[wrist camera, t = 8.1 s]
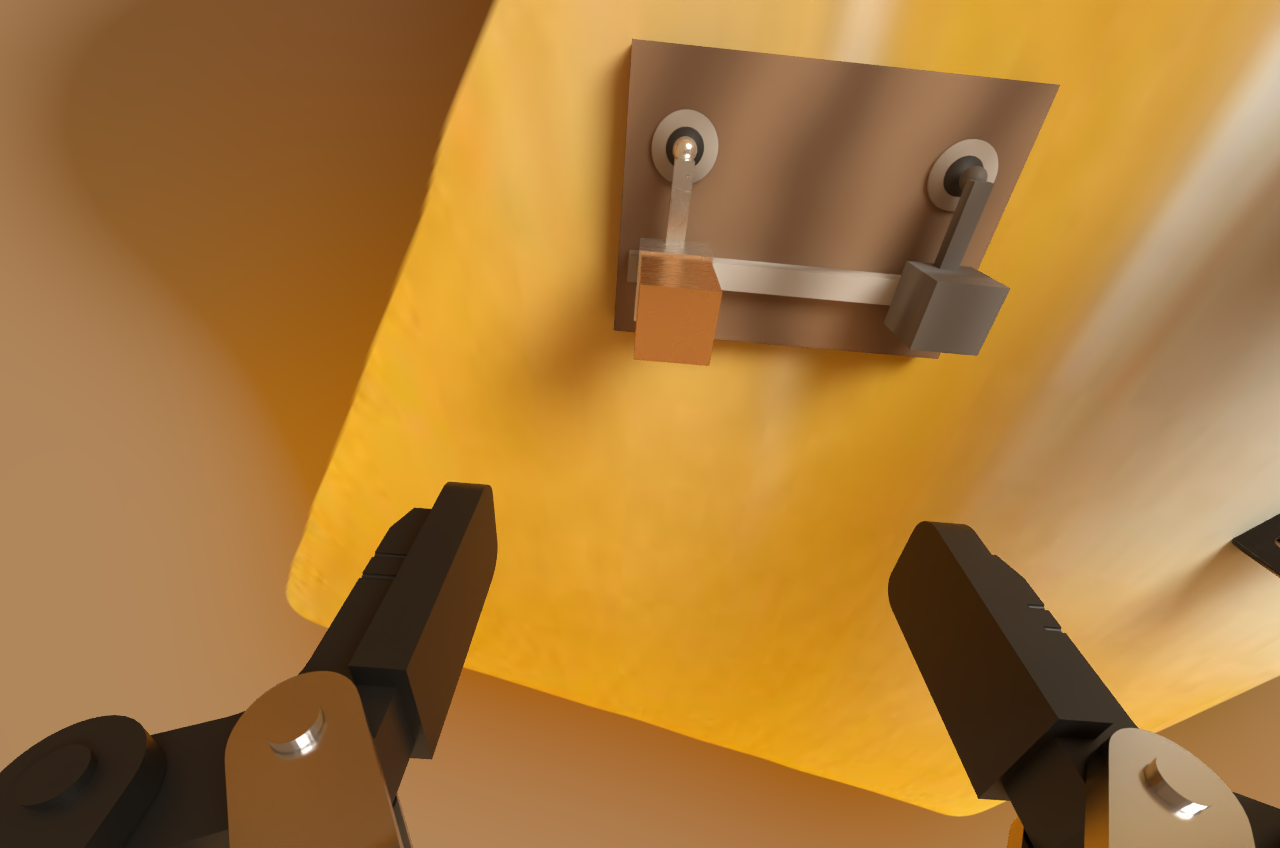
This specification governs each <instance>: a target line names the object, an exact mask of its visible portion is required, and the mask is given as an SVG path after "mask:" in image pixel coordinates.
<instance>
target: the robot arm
mask: <svg viewBox="0 0 1280 848" xmlns="http://www.w3.org/2000/svg"><path fill="white" fill-rule="evenodd" d="M496 559H497V534H496V523H495V513H494V502H493V493H492V488H491V486H490V485H484V484H471V483H459V482H448V483H446V484H445V486H444V487H443V489H442V491H441V492H440V494H439V496H438V498H437V500H436V502H435V504H434V506H433V507H432V509H423V508H413V509H412V510H411V511H410V512H409V513H407V514H406V515H405V516H404V517H402V518H401V519H400V520H399V521H398V522H396V523H395V524H394V525H393V526H391V527H390V528H389V530H388V532H387V533H386V535H385V537H384V538H383V540H382V542H381V543H380V545H379V547H378V548H377V550H376V551H375V556H374V557H372V558H371V560H370V561H369V563H368V565H367V566H366V568H365V570H364V571H363V576H362V578H359V579H358V581H357V583H356V584H355V586H354V588H353V589H352V591H351V593H350V594H349V596H348V598H347V599H346V601H345V602H344V604H343V606H342V607H341V609H340V611H339V612H338V614H337V616H336V617H335V619H334V621H333V622H332V624H331V626H330V627H329V629H328V631H327V632H326V634H325V635H324V637H323V639H322V640H321V642H320V644H319V645H318V647H317V649H316V650H315V652H314V654H313V655H312V657H311V658H310V660H309V661H308V663H307V664H306V666H305V667H304V669H303V670H302V671H301V672H300V673H299V674H298V675H297V676H294V677H292V678H289V679H287V680H285V681H283V682H281V683H279V684H277V685H276V686H275V687H273V688H271V689H270V690H268V691H267V692H265V693H264V694H263V695H262V696H260V697H259V698H258V699H257V700H256V701H255V702H254V703H253V704H252V705H251V706H250V707H249V708H248V709H247V710H246V711H244V712H242V713H239V714H236V715H232V716H229V717H225V718H221V719H217V720H213V721H209V722H205V723H200V724H196V725H192V726H188V727H183V728H179V729H175V730H171V731H167V732H163V733H158V734H154V735H149V733H148V732H147V731H146V730H145V729H144V728H143V726H142V725H141V724H140V723H138V722H137V721H136V720H134V719H132V718H129V717H126V716H117V715H111V716H101V717H96V718H92V719H88V720H85V721H82V722H79V723H76V724H73V725H71V726H69V727H66V728H64V729H62V730H60V731H58V732H56V733H54V734H52V735H50V736H48V737H47V738H45V739H43V740H42V741H40V742H39V743H37V744H35V745H34V746H32V747H31V748H29V749H28V750H27V751H25V752H24V753H23V754H21V755H20V756H19V757H17V758H16V759H15V760H14V761H13V762H12V763H10V764H9V765H8V766H7V767H6V768H5V769H4V770H3V771H2V772H1V773H0V848H413V845H412V842H411V838H410V835H409V832H408V828H407V824H406V821H405V817H404V814H403V810H402V807H401V804H400V800H399V797H398V793H397V791H398V788H399V786H400V783H401V780H402V777H403V775H404V772H405V769H406V767H407V764H408V761H409V758H419V759H420V758H421V759H432V757H433V755H434V752H435V749H436V746H437V742H438V739H439V737H440V734H441V731H442V727H443V725H444V721H445V719H446V715H447V713H448V710H449V707H450V704H451V701H452V698H453V695H454V692H455V689H456V685H457V683H458V680H459V676H460V674H461V670H462V668H463V665H464V662H465V659H466V656H467V653H468V650H469V647H470V644H471V641H472V638H473V635H474V632H475V629H476V626H477V623H478V620H479V617H480V614H481V611H482V608H483V605H484V602H485V599H486V596H487V593H488V590H489V587H490V584H491V581H492V578H493V575H494V571H495V566H496ZM888 596H889V602H890V605H891V608H892V611H893V613H894V615H895V617H896V619H897V622H898V624H899V626H900V628H901V630H902V633H903V635H904V637H905V639H906V641H907V643H908V646H909V648H910V650H911V652H912V654H913V657H914V659H915V661H916V663H917V665H918V668H919V670H920V672H921V674H922V676H923V678H924V681H925V683H926V685H927V687H928V689H929V692H930V694H931V696H932V698H933V700H934V703H935V705H936V707H937V709H938V711H939V713H940V716H941V718H942V720H943V722H944V724H945V727H946V729H947V731H948V733H949V735H950V738H951V740H952V742H953V744H954V746H955V748H956V751H957V753H958V755H959V757H960V759H961V762H962V764H963V766H964V768H965V770H966V773H967V775H968V777H969V779H970V781H971V783H972V786H973V788H974V790H975V792H976V794H977V797H978V799H991V800H1006V801H1011V803H1012V805H1013V807H1014V809H1015V811H1016V813H1017V815H1018V817H1016V819H1014V820H1013V822H1012V824H1011V826H1010V830H1009V836H1008V843H1007V848H1280V809H1278V808H1275V807H1273V806H1270V805H1267V804H1264V803H1262V802H1259V801H1256V800H1254V799H1251V798H1248V797H1245V796H1243V795H1240V794H1237V793H1234V792H1232V791H1231V790H1230V789H1229V788H1228V787H1227V785H1226V784H1225V783H1224V782H1223V781H1222V780H1221V779H1220V778H1219V777H1218V776H1217V775H1216V774H1215V773H1214V772H1213V771H1212V770H1211V769H1210V768H1209V767H1208V766H1207V765H1205V764H1204V763H1203V762H1201V761H1200V760H1199V759H1198V758H1197V757H1195V756H1194V755H1193V754H1191V753H1190V752H1188V751H1187V750H1186V749H1184V748H1183V747H1181V746H1179V745H1177V744H1176V743H1174V742H1172V741H1171V740H1169V739H1167V738H1164V737H1162V736H1160V735H1158V734H1155V733H1153V732H1150V731H1146V730H1142V729H1139V728H1138V727H1137V726H1136V725H1135V724H1134V722H1133V721H1132V720H1131V719H1130V717H1129V716H1128V715H1127V713H1126V712H1125V711H1124V709H1123V708H1122V707H1121V705H1120V704H1119V703H1118V701H1117V700H1116V699H1115V697H1114V696H1113V695H1112V694H1111V692H1110V691H1109V690H1108V688H1107V687H1106V686H1105V684H1104V683H1103V682H1102V680H1101V679H1100V678H1099V676H1098V675H1097V674H1096V672H1095V671H1094V670H1093V668H1092V667H1091V666H1090V664H1089V663H1088V662H1087V661H1086V659H1085V658H1084V657H1083V655H1082V654H1081V653H1080V651H1079V650H1078V649H1077V647H1076V646H1075V645H1074V643H1073V642H1072V641H1071V639H1070V638H1069V637H1068V635H1067V634H1066V633H1062V632H1061V626H1060V625H1059V624H1058V622H1057V621H1056V620H1055V618H1054V617H1053V616H1052V614H1051V613H1050V612H1049V610H1045V609H1044V604H1043V602H1042V601H1041V600H1040V598H1039V597H1038V596H1037V595H1036V593H1035V592H1034V591H1033V589H1032V588H1031V587H1030V585H1029V584H1028V583H1027V581H1026V580H1025V579H1024V578H1023V577H1022V576H1021V575H1020V574H1018V573H1017V572H1016V571H1015V570H1013V569H1012V568H1011V567H1010V566H1009V565H1007V564H1006V563H1005V562H1004V561H1003V560H1001V559H1000V558H999V557H998V556H997V555H991V553H990V552H989V551H988V549H987V548H986V546H985V545H984V544H983V542H982V541H981V539H980V538H979V537H978V535H977V534H976V533H975V531H974V530H973V529H972V528H971V527H969V526H967V525H964V524H953V523H941V522H928V521H923V522H920V523H919V524H918V525H917V526H916V527H915V529H914V531H913V532H912V534H911V536H910V538H909V540H908V542H907V544H906V546H905V548H904V550H903V552H902V554H901V556H900V558H899V559H898V561H897V563H896V565H895V567H894V569H893V571H892V573H891V575H890V578H889V583H888Z"/></svg>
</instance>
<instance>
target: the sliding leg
mask: <svg viewBox="0 0 1280 848" xmlns="http://www.w3.org/2000/svg"><path fill="white" fill-rule="evenodd" d="M696 154H697V145H696V143H695V141H694V140H693V139H692V138H691V137H688V136H683V137H680V138H679V139H677V140H676V142H675V143H674V145H673V156H674V167H673V176H672V185H671V194H670V203H669V212H668V221H667V230H666V239H665V240H664V239H653V238H643V237H641V238H640V249H639V261H638V273H637V285H636V297H635V309H634V321H636V330H635V347H634V359H636V360H647V361H659V362H670V363H682V364H694V365H705V366H709V364H710V359H711V353H712V348H713V342H714V336H715V331H716V325H717V320H718V314H719V308H720V303H721V297H722V289H721V287H720V284H719V281H718V278H717V276H716V273H715V270H714V267H713V258H714V257H713V254H712V252H711V249H710V247H709V244H706V243H695V242H685V236H686V228H687V221H688V213H689V205H690V198H691V190H692V182H693V175H694V167H695V161H694V158H695V157H696Z"/></svg>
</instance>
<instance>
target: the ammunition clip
mask: <svg viewBox="0 0 1280 848" xmlns="http://www.w3.org/2000/svg"><path fill="white" fill-rule="evenodd" d="M1232 543H1233V544H1234V545H1235V546H1237V547H1238V548H1239V549H1240V550H1241V551H1243V552H1244V553H1245V554H1247V555H1248V556H1250V557H1251V558H1252V559H1254V560H1255V561H1257V562H1258V563H1259V564H1261V565H1262V566H1264V567H1265V568H1267V569H1268V570H1269V571H1271V572H1272V573H1274V574H1275V575H1276V576H1278V577H1279V578H1280V514H1278V515H1276V516H1275V517H1273V518H1271V519H1269V520H1267V521H1265V522H1263V523H1262V524H1260V525H1258V526H1256V527H1254V528H1252V529H1250V530H1248V531H1247V532H1245V533H1243V534H1241V535H1239V536H1237V537H1235V538H1234V539H1233V542H1232Z"/></svg>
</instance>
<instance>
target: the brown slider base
mask: <svg viewBox="0 0 1280 848" xmlns="http://www.w3.org/2000/svg"><path fill="white" fill-rule="evenodd" d="M1059 86H1060V85H1055V84H1045V83H1036V82H1027V81H1018V80H1008V79H999V78H990V77H980V76H971V75H962V74H953V73H943V72H934V71H925V70H915V69H906V68H897V67H888V66H878V65H869V64H860V63H850V62H841V61H832V60H823V59H813V58H804V57H795V56H785V55H776V54H767V53H758V52H748V51H739V50H730V49H720V48H711V47H702V46H693V45H683V44H674V43H665V42H655V41H646V40H637V39H632V52H631V68H630V84H629V99H628V115H627V131H626V147H625V162H624V178H623V194H622V210H621V225H620V241H619V257H618V273H617V288H616V304H615V320H614V330H616V331H627V332H635V330H636V321H634V309H635V297H636V285H637V273H638V261H639V249H640V238H641V237H643V238H653V239H664V240H665V239H666V230H667V221H668V212H669V203H670V194H671V185H672V176H673V167H674V156H673V145H674V143H675V142H676V140H677V139H679V138H680V137H683V136H688V137H691V138H692V139H693V140H694V141H695V143H696V145H697V154H696V157H695V158H694V161H695V167H694V175H693V182H692V190H691V198H690V205H689V213H688V221H687V228H686V236H685V242H695V243H706V244H709V247H710V249H711V252H712V254H713V257H714V258H713V267H714V270H715V273H716V276H717V278H718V281H719V284H720V287H721V289H722V297H721V303H720V308H719V314H718V320H717V325H716V331H715V336H714V339H718V340H729V341H741V342H752V343H764V344H775V345H786V346H798V347H809V348H820V349H832V350H843V351H854V352H866V353H877V354H888V355H900V356H911V357H922V358H934V359H938V358H939V355H940V353H941V352H942V353H953V354H964V355H975V356H977V355H978V353H979V351H980V349H981V347H982V345H983V343H984V341H985V339H986V337H987V335H988V333H989V331H990V329H991V327H992V325H993V323H994V321H995V318H996V316H997V314H998V312H999V310H1000V308H1001V306H1002V304H1003V302H1004V300H1005V298H1006V296H1007V294H1008V292H1009V290H1010V288H1009V287H1007V286H1005V285H1003V284H1001V283H1000V282H998V281H996V280H994V279H992V278H990V277H989V276H987V275H985V274H983V273H981V272H980V271H978V268H979V266H980V263H981V261H982V259H983V257H984V255H985V252H986V250H987V248H988V246H989V243H990V241H991V239H992V237H993V234H994V232H995V230H996V228H997V225H998V223H999V221H1000V219H1001V216H1002V214H1003V212H1004V210H1005V207H1006V205H1007V203H1008V201H1009V198H1010V196H1011V194H1012V192H1013V190H1014V187H1015V185H1016V183H1017V181H1018V178H1019V176H1020V174H1021V172H1022V169H1023V167H1024V165H1025V163H1026V160H1027V158H1028V156H1029V154H1030V151H1031V149H1032V147H1033V145H1034V142H1035V140H1036V138H1037V136H1038V133H1039V131H1040V129H1041V127H1042V125H1043V122H1044V120H1045V118H1046V116H1047V113H1048V111H1049V109H1050V107H1051V104H1052V102H1053V100H1054V98H1055V95H1056V93H1057V91H1058V89H1059Z"/></svg>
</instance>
